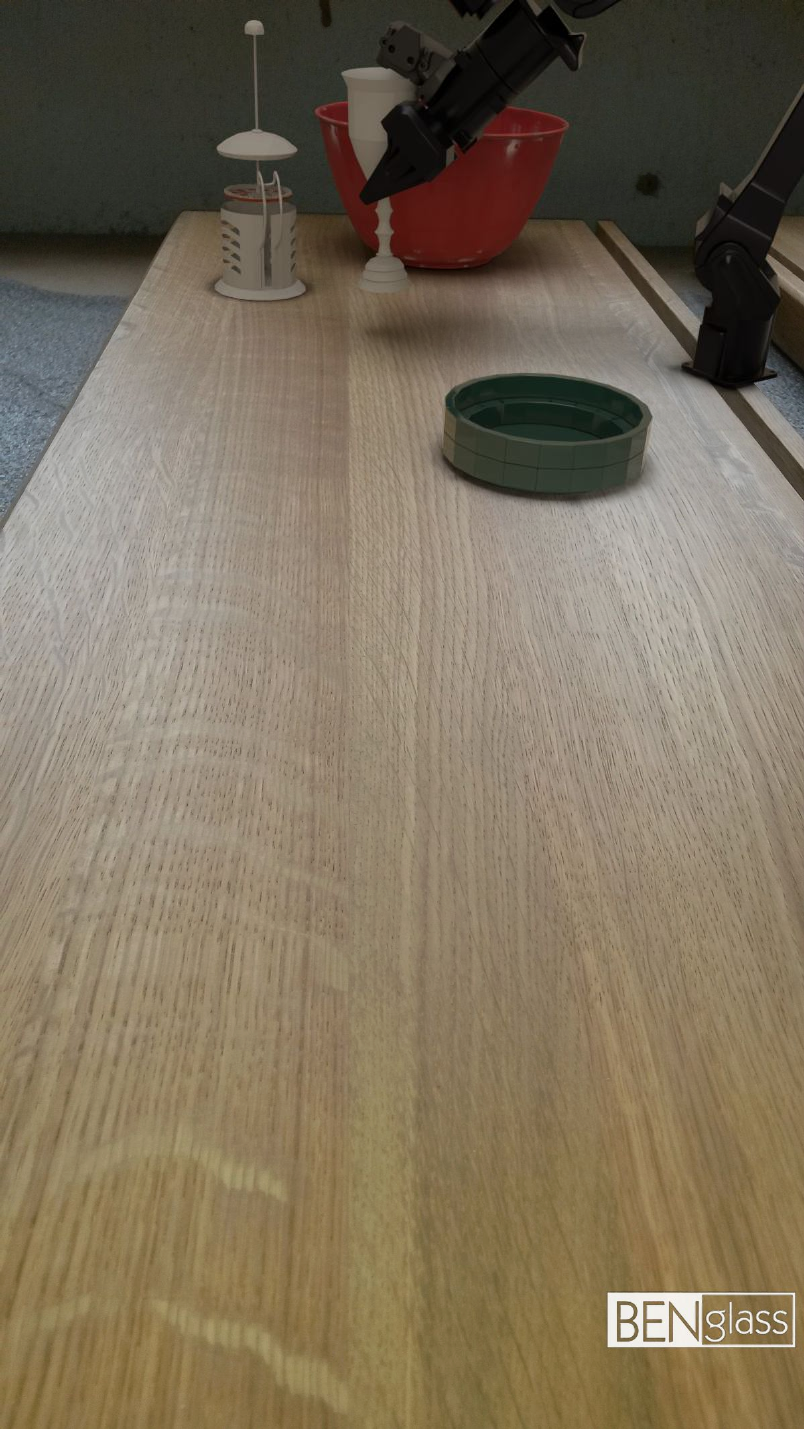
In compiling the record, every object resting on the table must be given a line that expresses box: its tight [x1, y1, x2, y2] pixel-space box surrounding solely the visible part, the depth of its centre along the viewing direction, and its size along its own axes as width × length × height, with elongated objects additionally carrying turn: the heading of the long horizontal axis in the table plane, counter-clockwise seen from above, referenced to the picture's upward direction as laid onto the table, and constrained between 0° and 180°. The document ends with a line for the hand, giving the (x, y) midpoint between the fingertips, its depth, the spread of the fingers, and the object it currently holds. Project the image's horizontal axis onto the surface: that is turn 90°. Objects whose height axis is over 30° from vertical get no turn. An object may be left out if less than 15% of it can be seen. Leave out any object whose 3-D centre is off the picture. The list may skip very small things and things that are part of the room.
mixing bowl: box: [314, 99, 570, 270], centre depth 141 cm, size 28×28×15 cm
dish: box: [441, 372, 654, 495], centre depth 92 cm, size 15×15×4 cm
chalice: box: [340, 66, 420, 294], centre depth 111 cm, size 7×7×18 cm
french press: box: [214, 19, 307, 301], centre depth 123 cm, size 10×12×25 cm
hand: (370, 195), depth 111 cm, fingers closed on chalice, 5 cm apart
